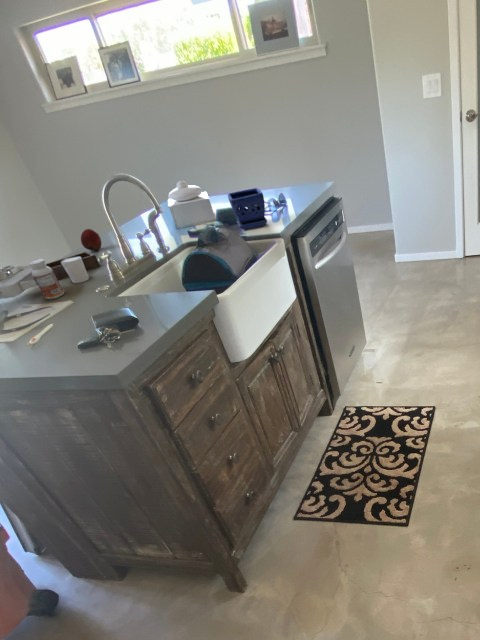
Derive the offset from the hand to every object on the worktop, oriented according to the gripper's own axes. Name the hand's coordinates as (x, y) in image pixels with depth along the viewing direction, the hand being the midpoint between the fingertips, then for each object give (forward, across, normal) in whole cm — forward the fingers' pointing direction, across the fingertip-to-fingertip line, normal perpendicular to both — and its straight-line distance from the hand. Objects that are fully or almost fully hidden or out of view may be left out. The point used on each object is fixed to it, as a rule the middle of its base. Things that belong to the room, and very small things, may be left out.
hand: (42, 277), depth 170 cm
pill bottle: (+1, 0, +6) cm, 6 cm away
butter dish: (+31, +83, +6) cm, 89 cm away
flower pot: (+61, +57, +6) cm, 84 cm away
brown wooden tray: (-4, +27, +6) cm, 28 cm away
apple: (-5, +55, +6) cm, 56 cm away
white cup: (+4, +14, +6) cm, 16 cm away
